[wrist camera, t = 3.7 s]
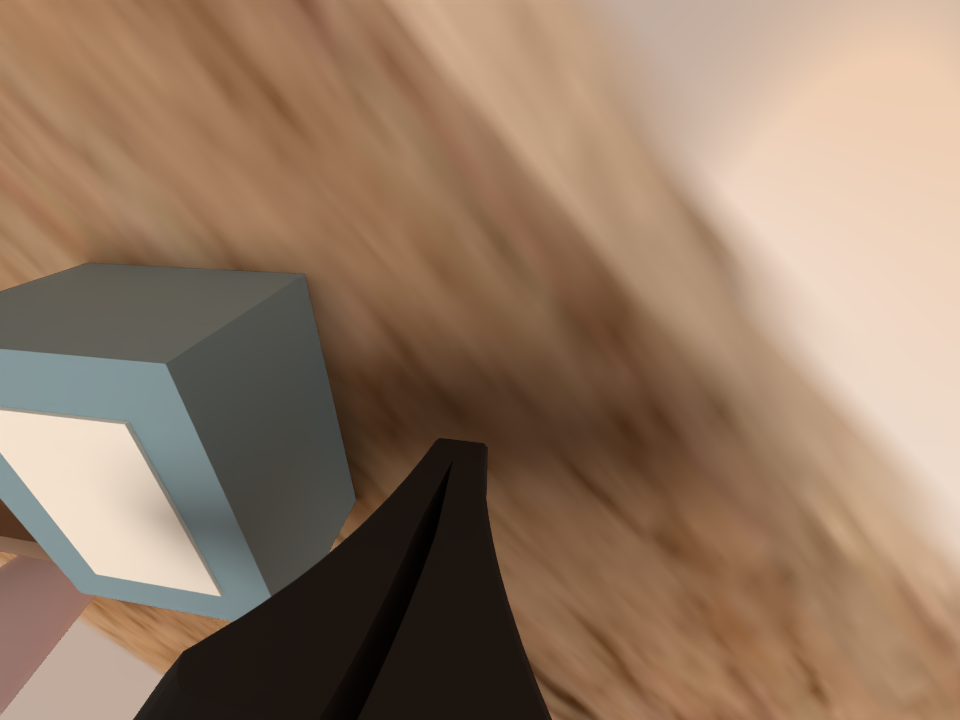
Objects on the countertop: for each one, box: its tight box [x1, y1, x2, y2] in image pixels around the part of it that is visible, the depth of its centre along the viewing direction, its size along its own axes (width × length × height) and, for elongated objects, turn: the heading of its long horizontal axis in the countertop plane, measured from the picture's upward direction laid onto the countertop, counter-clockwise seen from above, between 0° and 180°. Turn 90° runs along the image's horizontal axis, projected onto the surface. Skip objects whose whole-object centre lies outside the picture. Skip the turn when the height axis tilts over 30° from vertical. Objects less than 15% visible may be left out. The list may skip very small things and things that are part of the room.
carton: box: [0, 263, 356, 621], centre depth 12 cm, size 9×7×5 cm
